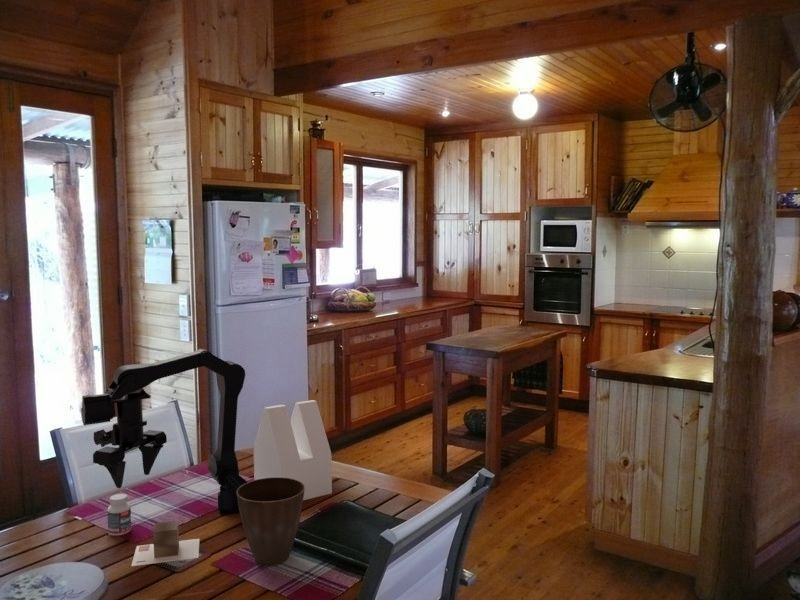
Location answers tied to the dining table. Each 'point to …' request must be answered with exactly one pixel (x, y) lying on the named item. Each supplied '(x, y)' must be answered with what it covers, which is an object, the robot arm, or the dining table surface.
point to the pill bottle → (119, 515)
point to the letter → (186, 551)
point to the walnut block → (166, 539)
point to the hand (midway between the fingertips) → (133, 481)
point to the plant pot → (270, 517)
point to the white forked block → (294, 448)
